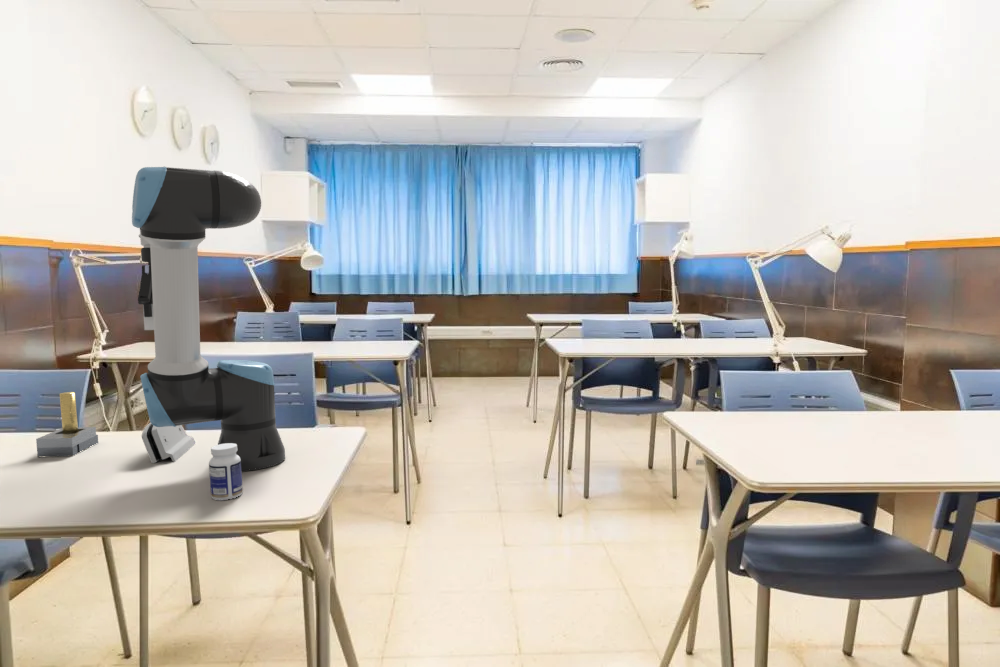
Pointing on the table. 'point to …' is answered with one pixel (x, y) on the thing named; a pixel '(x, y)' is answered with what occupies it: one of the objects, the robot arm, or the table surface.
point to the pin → (68, 413)
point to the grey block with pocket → (66, 442)
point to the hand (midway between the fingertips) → (161, 327)
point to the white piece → (166, 442)
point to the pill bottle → (225, 472)
